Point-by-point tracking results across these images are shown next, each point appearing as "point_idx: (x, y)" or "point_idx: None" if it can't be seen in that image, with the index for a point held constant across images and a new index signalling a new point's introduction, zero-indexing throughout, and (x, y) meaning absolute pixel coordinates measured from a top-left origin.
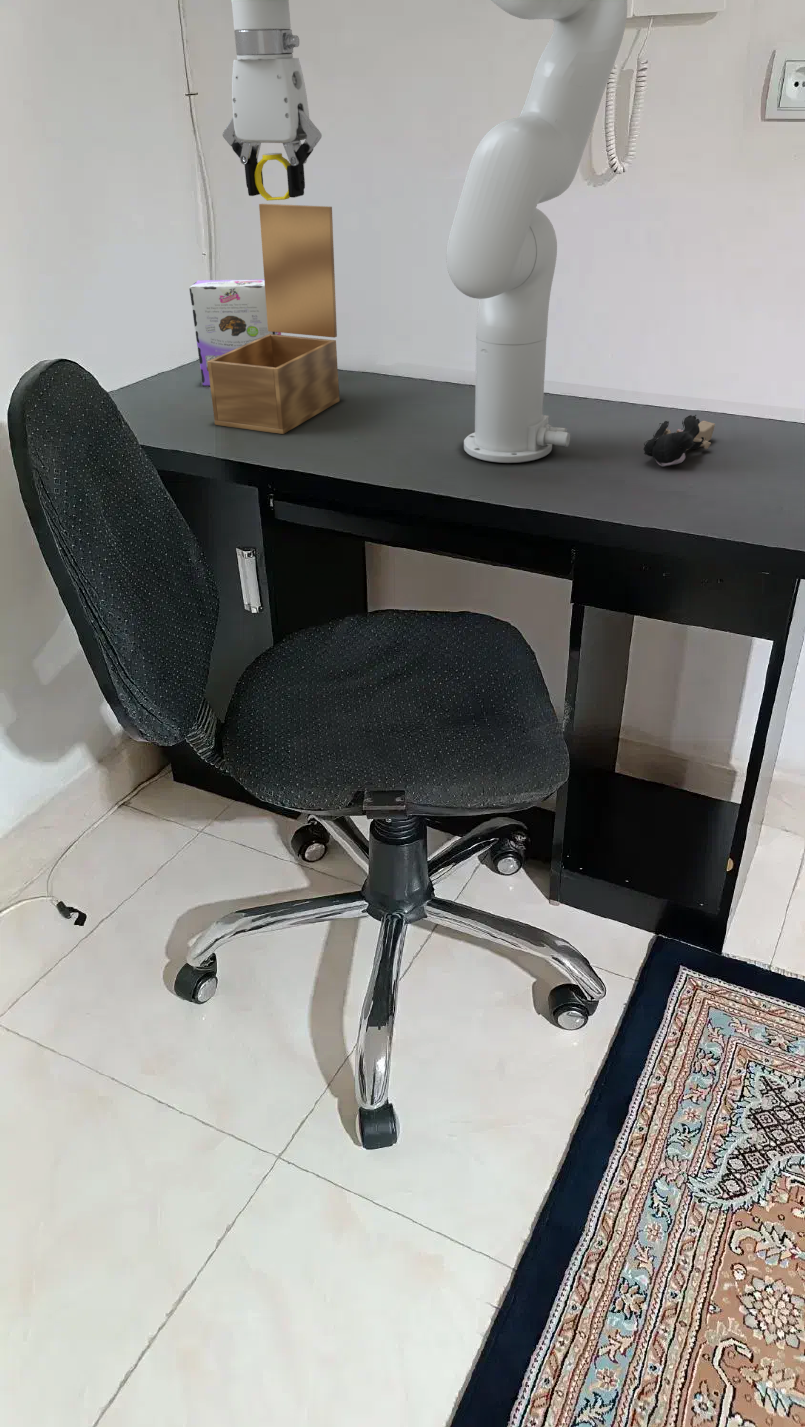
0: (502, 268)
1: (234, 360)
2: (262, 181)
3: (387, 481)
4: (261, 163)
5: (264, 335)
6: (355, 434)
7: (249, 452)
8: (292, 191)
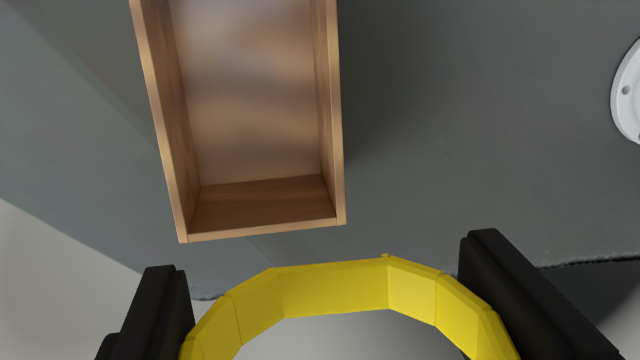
0: None
1: (176, 157)
2: (174, 317)
3: (543, 252)
4: None
5: None
6: (433, 125)
7: (327, 255)
8: None
